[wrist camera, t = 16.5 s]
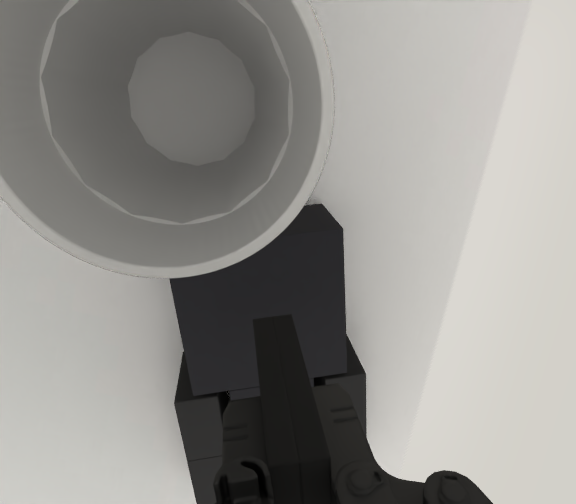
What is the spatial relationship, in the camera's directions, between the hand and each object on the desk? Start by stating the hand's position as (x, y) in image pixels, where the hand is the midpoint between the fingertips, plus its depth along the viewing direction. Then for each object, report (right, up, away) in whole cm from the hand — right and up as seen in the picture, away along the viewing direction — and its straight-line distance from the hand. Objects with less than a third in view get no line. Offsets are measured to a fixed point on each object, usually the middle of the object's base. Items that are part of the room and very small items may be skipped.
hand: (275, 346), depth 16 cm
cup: (-4, +11, +4) cm, 13 cm away
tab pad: (-1, +1, +8) cm, 8 cm away
